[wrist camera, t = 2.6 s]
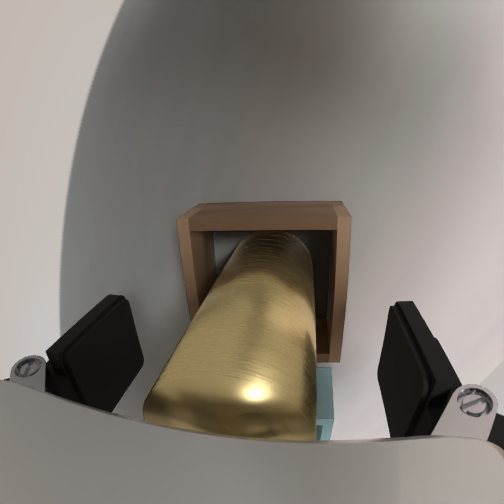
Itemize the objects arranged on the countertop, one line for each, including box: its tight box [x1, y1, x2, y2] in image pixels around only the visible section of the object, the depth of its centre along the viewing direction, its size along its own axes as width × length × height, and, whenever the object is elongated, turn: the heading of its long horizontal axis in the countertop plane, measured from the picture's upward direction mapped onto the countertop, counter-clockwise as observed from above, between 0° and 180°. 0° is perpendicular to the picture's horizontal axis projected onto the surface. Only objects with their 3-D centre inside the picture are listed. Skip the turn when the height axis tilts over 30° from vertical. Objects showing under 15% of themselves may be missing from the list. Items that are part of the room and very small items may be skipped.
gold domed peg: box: [143, 230, 317, 440], centre depth 11 cm, size 4×4×10 cm
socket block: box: [176, 201, 351, 362], centre depth 14 cm, size 7×7×3 cm
